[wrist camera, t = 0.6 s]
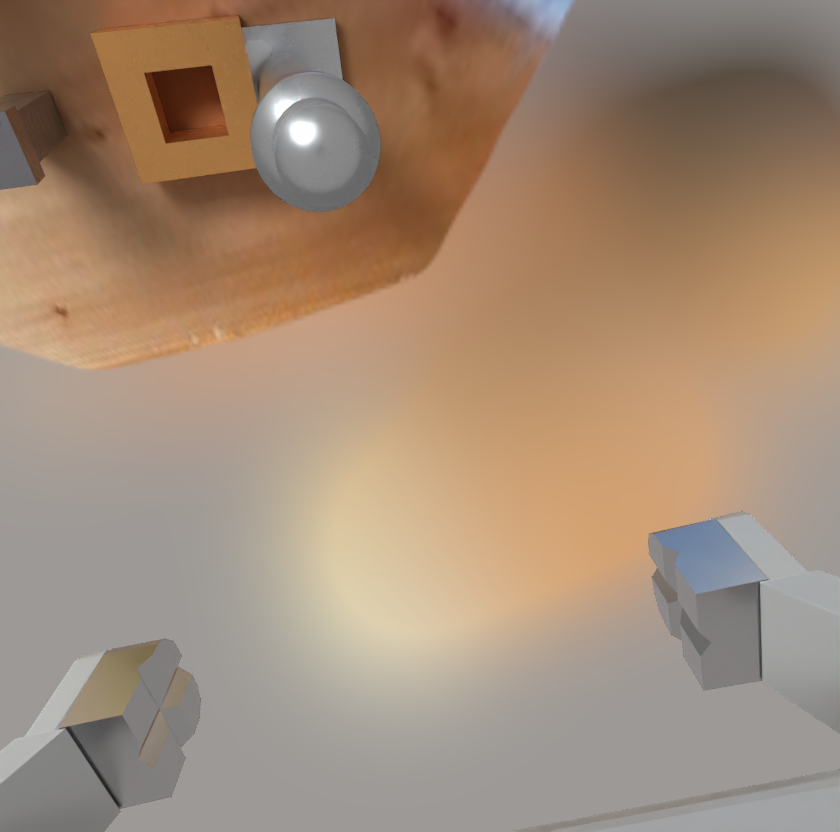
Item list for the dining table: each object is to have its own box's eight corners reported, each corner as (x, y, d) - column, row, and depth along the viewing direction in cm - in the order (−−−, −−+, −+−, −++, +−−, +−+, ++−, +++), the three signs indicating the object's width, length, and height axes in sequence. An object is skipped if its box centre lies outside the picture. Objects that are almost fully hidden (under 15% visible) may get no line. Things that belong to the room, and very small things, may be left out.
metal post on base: (147, 170, 48) (94, 297, 29) (100, 29, 42) (-4, 73, 23) (349, 142, 50) (420, 242, 32) (331, 5, 45) (404, 28, 26)
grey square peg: (20, 148, 45) (-35, 194, 36) (-7, 88, 43) (-74, 120, 33) (77, 141, 46) (37, 184, 36) (53, 81, 43) (4, 111, 34)
